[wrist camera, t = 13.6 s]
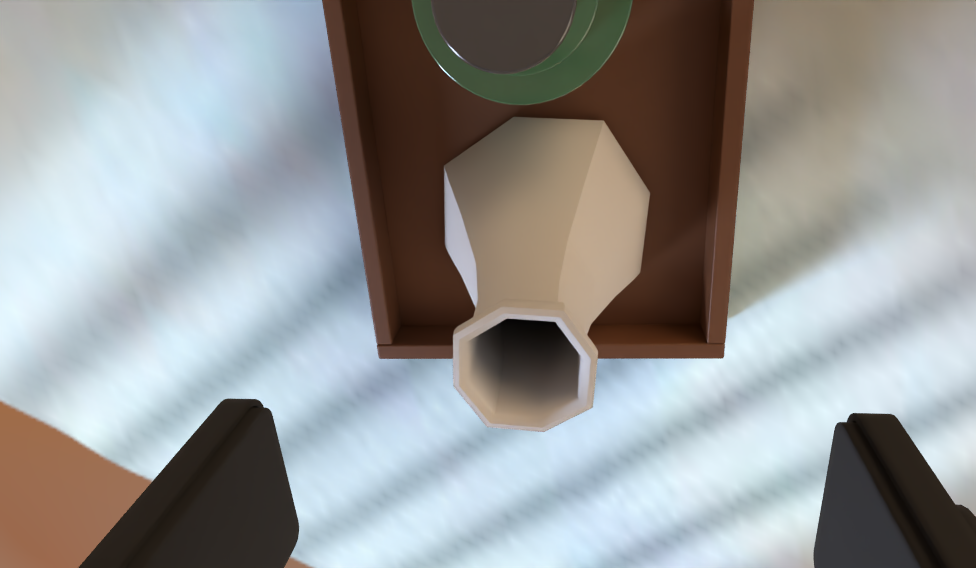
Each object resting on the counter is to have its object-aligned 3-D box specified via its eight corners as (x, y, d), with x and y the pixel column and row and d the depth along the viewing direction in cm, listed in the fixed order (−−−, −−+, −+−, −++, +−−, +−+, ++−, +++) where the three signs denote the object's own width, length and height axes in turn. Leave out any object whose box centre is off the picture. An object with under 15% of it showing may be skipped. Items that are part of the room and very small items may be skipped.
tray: (282, -422, 18) (246, -469, 16) (775, -502, 16) (802, -567, 14) (392, 331, 27) (378, 359, 25) (712, 329, 25) (723, 359, 23)
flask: (476, 329, 26) (422, 525, 17) (411, 145, 23) (304, 259, 14) (670, 285, 24) (727, 478, 15) (625, 82, 21) (661, 166, 12)
